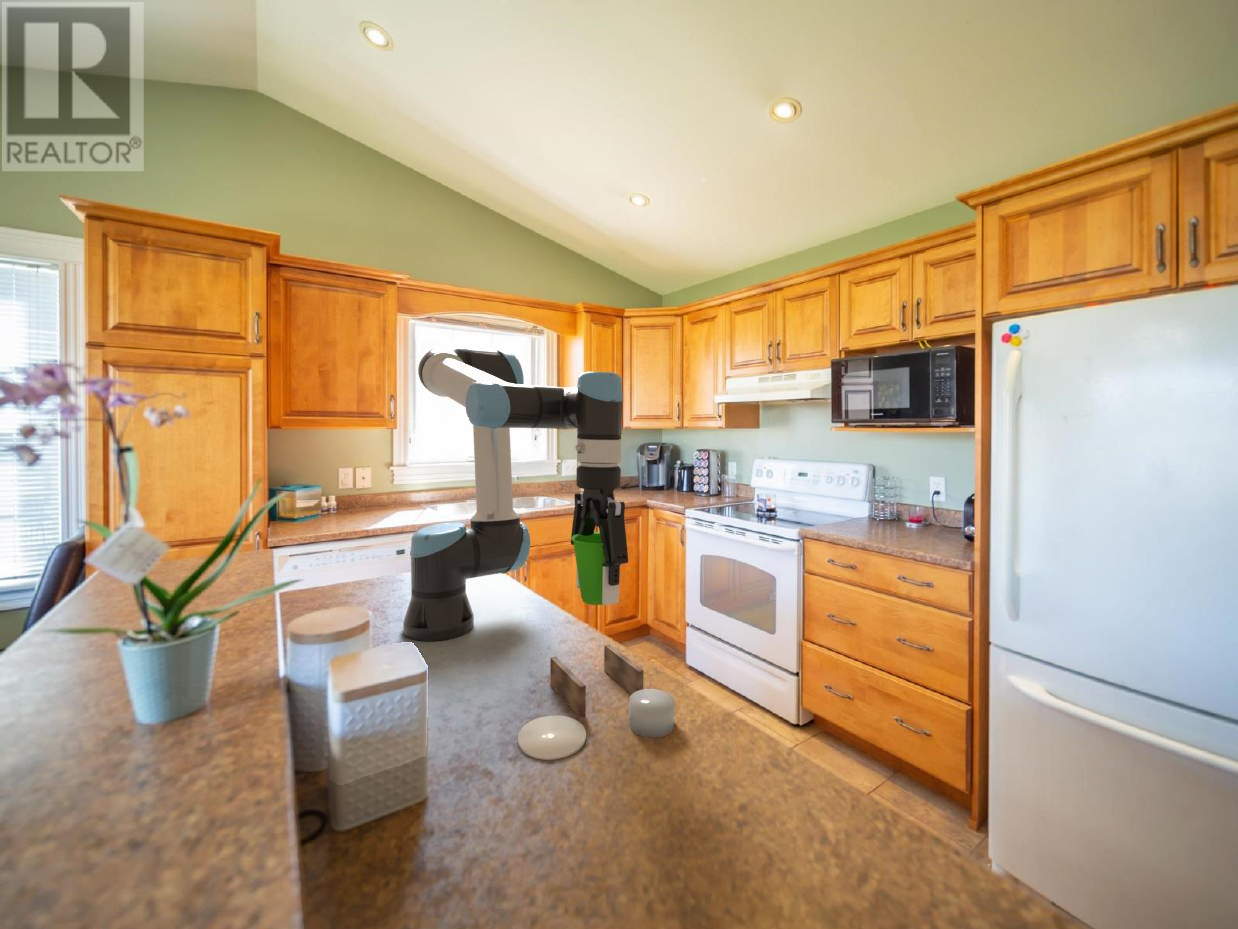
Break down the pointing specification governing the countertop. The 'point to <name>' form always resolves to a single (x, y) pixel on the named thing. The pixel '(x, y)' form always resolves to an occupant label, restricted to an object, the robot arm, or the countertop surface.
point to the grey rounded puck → (651, 713)
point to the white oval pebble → (552, 737)
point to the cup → (590, 566)
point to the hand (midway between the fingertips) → (596, 594)
